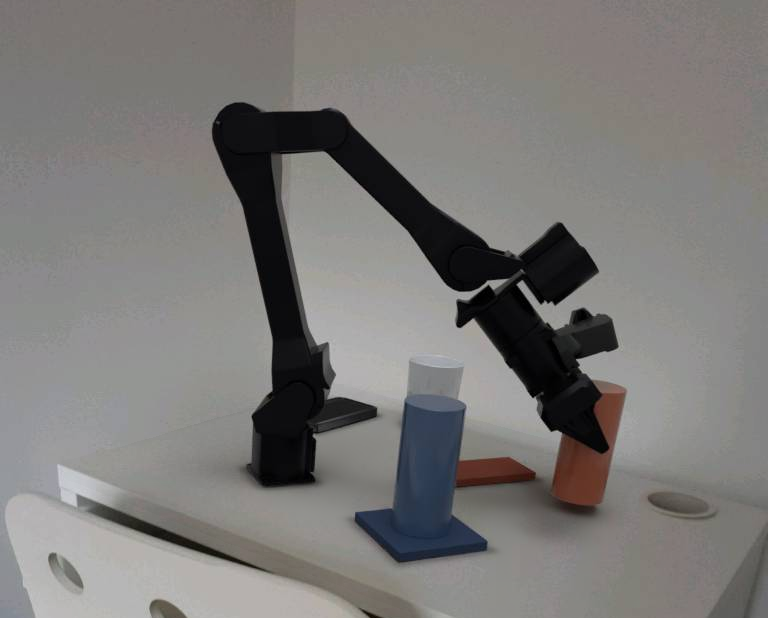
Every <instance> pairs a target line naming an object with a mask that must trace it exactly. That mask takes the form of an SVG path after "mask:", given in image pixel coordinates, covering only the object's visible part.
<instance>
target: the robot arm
mask: <svg viewBox="0 0 768 618" xmlns="http://www.w3.org/2000/svg"><path fill="white" fill-rule="evenodd" d="M211 139H212V143H213V146H214V148H215V151H216V153H217V155H218V158H219V160H220V163H221V165H222V168H223V171H224V173H225V175H226V178H227V179H228V181H229V183H230V185H231V188H233V190H234V193H235V195H236V196H237V198H238V200H239V203H240V205H241V208H242V212H243V215H244V219H245V220H244V221H245V225H246V229H247V233H248V237H249V241H250V246H251V250H252V251H251V252H252V255H253V259H254V264H255V269H256V273H257V277H258V283H259V286H260V290H261V291H260V292H261V294H262V299H263V304H264V308H265V312H266V317H267V322H268V326H269V330H270V334H271V341H272V342H271V343H272V347H271V365H270V366H271V367H270V368H271V369H270V370H271V371H270V372H271V391H269V393H267V394H266V395H265V397H264V398H263V399H262V400H261V402H260V403H259V405H258V406H257V407H256V409H255V410H254V411H253V413H252V414H251V416H250V417H251V421H252V433H251V434H252V436H251V462H247V463H246V464H245V469H246V470H247V471H248V472H249V473H250V474H251V475H252V476H253V478H255V480H256V481H257V482H258V483H259V484H260V485H261V486H263V487H275V486H276V487H277V486H288V485H298V484H299V485H300V484H310V483H316V482H317V477H316V476H315V475H314V474H312V473H314V472H315V467H316V455H317V454H316V453H317V439H316V437H315V436H314V432H313V427H312V426H311V425H310V424H309V423H307V422H306V421H307V420H310V419H313V418H314V417H315V416H317V415H318V414H319V413H320V411H321V410H322V409H323V407H324V405H325V402H326V400H327V399H329V395H330V393H331V390H332V385H333V383H334V381H335V379H336V376H337V374H336V371H335V370H334V369H333V367H332V363H331V357H330V356H331V355H330V353H331V352H330V343H329V341H326V342H323V343H320V344H317V342H316V340H315V338H314V336H313V334H312V333H311V331H310V328H309V323H308V318H307V314H306V309H305V304H304V299H303V295H302V290H301V285H300V281H299V277H298V272H297V267H296V262H295V257H294V252H293V247H292V243H291V237H290V233H289V228H288V224H287V223H288V222H287V219H286V218H287V217H286V214H285V209H284V205H283V200H282V199H283V198H282V190H283V189H282V188H283V187H282V186H283V155H299V154H310V153H326V154H327V155H328V156H330V158H331V159H332V160H333V161H334V162H336V164H337V165H339V167H340V168H342V170H343V171H344V172H346V173H347V175H349V176H350V177H351V178H352V179H353V180H354V181H355V182H356V183H357V184H358V185H359V186H360V187H361V188H362V189H363V190H364V191H365V192H367V193H368V195H370V196H371V197H372V199H373V200H374V201H375V202H376V203H378V204H379V205H380V206H381V207H382V208H383V209H384V210H385V211H386V212H387V213H388V214H389V215H390V216H391V217H392V218H393V219H394V220H395V221H396V222H397V223H398V224H400V226H402V227H403V228H404V229H405V231H407V233H408V234H409V236H410V237H411V238H412V239H413V241H414V242H415V244H416V245H417V246H418V248H419V250H420V251H421V253H422V254H423V255H424V257H425V258H426V260H427V261H428V263H429V264H430V266H431V267H432V268H433V270H434V271H435V272H436V274H437V275H438V276H439V279H441V280H442V282H443V283H444V284H445V285H446V286H447V287H448V288H450V289H451V290H453V291H455V292H457V293H469V292H470V293H471V292H474V291H476V290H479V289H480V290H479V291H478V292H477V293H476V294H474V295H473V296H472V297H470V298H469V299H461V298H457V299H456V300H455V305H456V314H455V317H454V323H455V327H456V328H457V329H462V328H463V327H465V326H466V325H467V324H468V323H470V322H471V321H472V320H474V322H475V323H476V324H477V325H478V327H479V328H480V329H481V331H482V332H483V333H484V335H485V336H486V337H487V339H488V340H489V341H490V343H491V344H492V345H493V347H494V348H495V349H496V350H497V352H498V353H499V354H500V356H501V357H502V359H503V360H504V363H505V364H506V366H507V367H508V369H510V370H512V372H513V373H514V374H515V376H516V377H517V378H518V379H519V381H520V382H521V383H522V385H523V386H524V388H525V390H526V392H527V394H529V396H530V397H531V398H532V399H535V400H536V402H537V404H536V409H535V410H536V412H537V414H538V416H539V418H540V420H541V421H542V422H543V424H544V425H545V426H546V428H547V429H548V430H549V432H550V433H553V432H559V433H561V434H562V433H563V434H565V435H567V436H569V437H571V438H573V439H575V440H576V441H578V442H580V443H582V444H584V445H586V446H588V447H589V448H591V449H593V450H595V451H597V452H598V453H600V454H604V453H605V452H607V451H608V450H609V449H610V447H609V445H608V443H607V440H606V438H605V436H604V433H603V431H602V429H601V427H600V424H599V422H598V420H597V417H596V415H595V413H594V407H595V404H596V402H597V401H599V400H600V398H601V397H602V396H603V395H602V394H601V392H600V391H599V390H598V388H597V387H596V386H595V384H594V383H593V381H592V380H593V379H592V380H591V378H590V376H589V375H588V374H587V373H583V372H582V370H581V368H580V366H581V364H580V362H579V361H578V360H581V359H586V358H589V357H591V356H595V355H597V354H601V353H604V352H606V353H610V352H612V351H616V350H617V349H618V348H619V347H620V346H619V345H620V344H619V342H618V341H619V340H618V337H617V333H616V329H615V325H614V321H613V318H612V317H611V316H609V315H608V314H606V313H600V312H599V313H598V312H597V313H596V315H593V314H592V313H591V312H590V310H588V309H587V308H586V307H584V306H583V307H580V308H576V309H574V310H571V313H570V318H569V322H568V323H565V324H564V325H563V326H562V327H559V328H556V329H554V328H553V326H552V325H551V324H550V323H549V322H548V321H546V322H545V321H544V319H543V318H542V317H541V315H540V314H539V312H538V311H537V309H536V308H535V307H534V306H533V305H532V303H531V302H530V300H529V299H528V298H527V296H526V295H525V294H524V292H523V291H522V289H521V287H519V285H518V284H519V283H521V282H523V284H524V286H525V287H526V288H527V290H528V291H529V292H530V293H531V295H532V296H533V297H534V299H535V300H536V301H537V303H538V304H539V306H542V305H543V304H545V303H546V304H547V305H549V304H550V303H551V304H552V305H553V306H554V307H556V306H557V305H559V304H560V303H561V302H563V301H564V300H565V299H566V298H568V297H569V296H570V295H572V294H573V293H574V292H576V291H577V290H578V289H580V288H581V287H582V286H584V285H585V284H587V283H588V282H589V281H590V280H591V279H593V278H594V277H595V276H597V275H598V274H599V273H600V270H599V268H598V266H597V264H596V261H594V259H593V258H592V256H591V255H590V253H589V251H587V249H586V247H584V246H582V245H581V244H580V242H578V241H577V239H576V238H575V237H574V236H573V235H572V234H571V233H570V231H569V230H568V229H567V227H566V226H565V224H564V223H563V222H561V221H556V222H554V223H553V224H552V225H550V226H549V228H547V229H546V231H545V232H544V233H543V234H542V235H541V236H540V237H539V238H537V239H536V240H535V241H533V242H532V243H531V244H530V245H528V246H527V247H526V248H525V249H524V250H523V251H521V252H520V253H519V254H518V255H517V254H516V253H513V252H511V251H510V250H509V249H507V250H506V251H505V250H501V249H497V248H493V247H490V245H489V244H488V243H487V241H485V239H484V238H483V237H481V236H480V235H479V234H478V233H476V232H475V231H473V230H472V229H470V228H469V227H467V226H466V225H464V224H463V223H461V222H460V221H459V220H457V219H455V218H454V217H452V216H451V215H449V214H448V213H446V212H445V211H444V210H442V209H440V208H439V207H438V206H436V205H435V204H433V203H432V202H430V200H429V199H428V198H427V197H426V196H424V194H423V193H422V192H420V191H419V189H417V187H416V186H414V184H413V183H411V182H410V181H409V180H408V179H407V178H406V177H405V176H404V175H403V174H402V173H401V172H400V170H398V169H397V168H396V167H395V166H394V165H393V164H392V163H391V162H390V161H389V160H388V159H387V158H386V157H385V156H384V155H383V154H382V153H381V152H380V151H379V150H378V149H377V148H376V147H375V146H374V145H373V144H372V143H371V142H370V141H369V140H368V139H367V138H365V136H364V135H363V134H361V132H359V130H358V129H356V127H354V125H353V124H352V122H351V120H350V118H349V117H348V116H347V115H346V114H344V113H343V112H342V111H340V110H339V109H337V108H333V107H326V108H322V109H319V110H279V111H278V110H276V111H275V110H274V111H266V110H265V109H263V108H260V107H258V106H256V105H254V104H251V103H247V102H245V101H237V102H235V101H234V102H232V103H229V104H227V105H225V106H224V107H223V108H222V109H220V111H218V113H217V115H216V116H215V119H214V121H213V122H212V126H211ZM502 280H505V281H504V282H503V283H502V284H500V285H498V286H497V287H496V288H494V289H493V287H492V286H491V285H490V284H487V282H489V281H490V282H491V281H502ZM485 284H487V285H486V286H484V285H485ZM483 286H484V287H483ZM482 287H483V288H482ZM481 288H482V289H481Z"/></svg>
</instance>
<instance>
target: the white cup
mask: <svg viewBox="0 0 768 618" xmlns="http://www.w3.org/2000/svg"><path fill="white" fill-rule="evenodd" d="M464 369H465V362H463V361H461V360H459V359H457V358H453V357H450V356H444V355H438V354H413V355H411V356H409V357H408V369H407V370H408V371H407V383H406V385H407V386H406V397H407V396H410V395H417V394H432V395H440V396H446V397H450V398H454V399H457V400H459V397H460V391H461V385H462V381H463V376H464V375H463V374H464Z"/></svg>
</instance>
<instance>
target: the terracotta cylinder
mask: <svg viewBox="0 0 768 618" xmlns="http://www.w3.org/2000/svg"><path fill="white" fill-rule="evenodd" d="M590 379H591V378H590ZM591 380H592V381H593V383H594V384H595V386H596V387H597V388H598V390H599V391H600V392H601V394H602V395H603V396H602V397H601V398H600V400H599V401H597V402H596V404H595V407H594V413H595V415H596V417H597V420H598V422H599V424H600V427H601V429H602V431H603V433H604V436H605V438H606V440H607V443H608V445H609V447H610V449H609V450H608V451H607V452H605V453H604V454H600V453H598V452H597V451H595V450H593V449H591V448H589V447H588V446H586V445H584V444H582V443H580V442H578V441H576V440H575V439H573V438H571V437H569V436H567V435H565V434H563V433H561V435H560V440H559V444H558V445H559V446H558V451H557V456H556V461H555V466H554V470H553V477H552V482H551V487H550V493H551V494H552V495H553V496H554V497H555V498H556V499H559V500H561V501H564V502H565V503H569V504H573V505H579V506H597V505H600V504H602V503H603V502H604V498H605V493H606V489H607V484H608V479H609V475H610V472H611V468H612V467H611V466H612V461H613V457H614V453H615V449H616V443H617V439H618V434H619V431H620V425H621V421H622V418H623V417H622V416H623V411H624V407H625V403H626V400H627V399H626V398H627V394H628V389H627V388H626V387H624V386H622V385H620V384H617V383H613V382H609V381H605V380H599V379H591Z"/></svg>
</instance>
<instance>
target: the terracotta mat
mask: <svg viewBox="0 0 768 618" xmlns="http://www.w3.org/2000/svg"><path fill="white" fill-rule="evenodd" d="M536 477H537V472H536V471H535V470H533V469H532V468H529V467H528V466H526V465H525V464H522V463H521V462H519V461H517V460H516V459H514V458H513V457H511V456H502V457H489V458H475V459H465V460H464V459H463V460H459V465H458V473H457V480H456V487H455V488H461V487H462V488H463V487H471V486H480V485H491V484H492V485H493V484H504V483H511V482H524V481H525V482H526V481H534V480H536Z"/></svg>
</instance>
